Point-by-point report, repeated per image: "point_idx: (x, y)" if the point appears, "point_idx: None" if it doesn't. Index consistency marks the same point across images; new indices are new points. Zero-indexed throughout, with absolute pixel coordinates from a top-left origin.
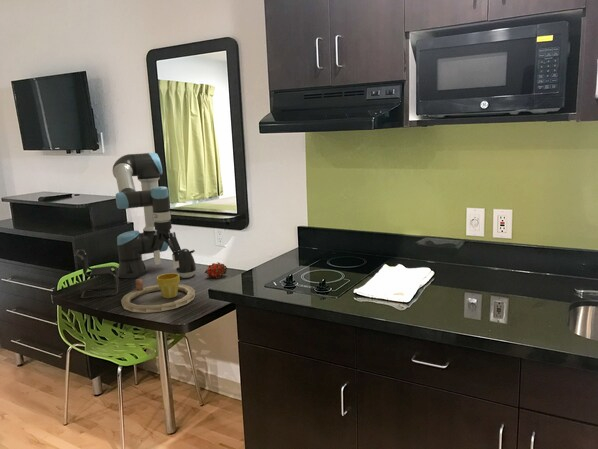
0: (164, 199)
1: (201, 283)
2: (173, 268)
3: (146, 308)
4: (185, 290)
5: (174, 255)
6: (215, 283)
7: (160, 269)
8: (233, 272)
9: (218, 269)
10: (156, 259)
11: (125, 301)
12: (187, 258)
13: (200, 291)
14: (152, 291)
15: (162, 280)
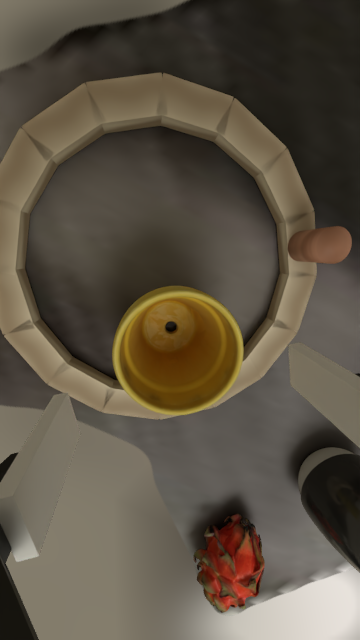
0: None
1: (207, 470)
2: (67, 392)
3: (18, 131)
4: None
5: (2, 504)
6: (166, 503)
7: None
8: None
9: (210, 571)
10: (313, 371)
11: (201, 105)
12: (354, 546)
13: (125, 430)
14: (273, 296)
15: (140, 302)
